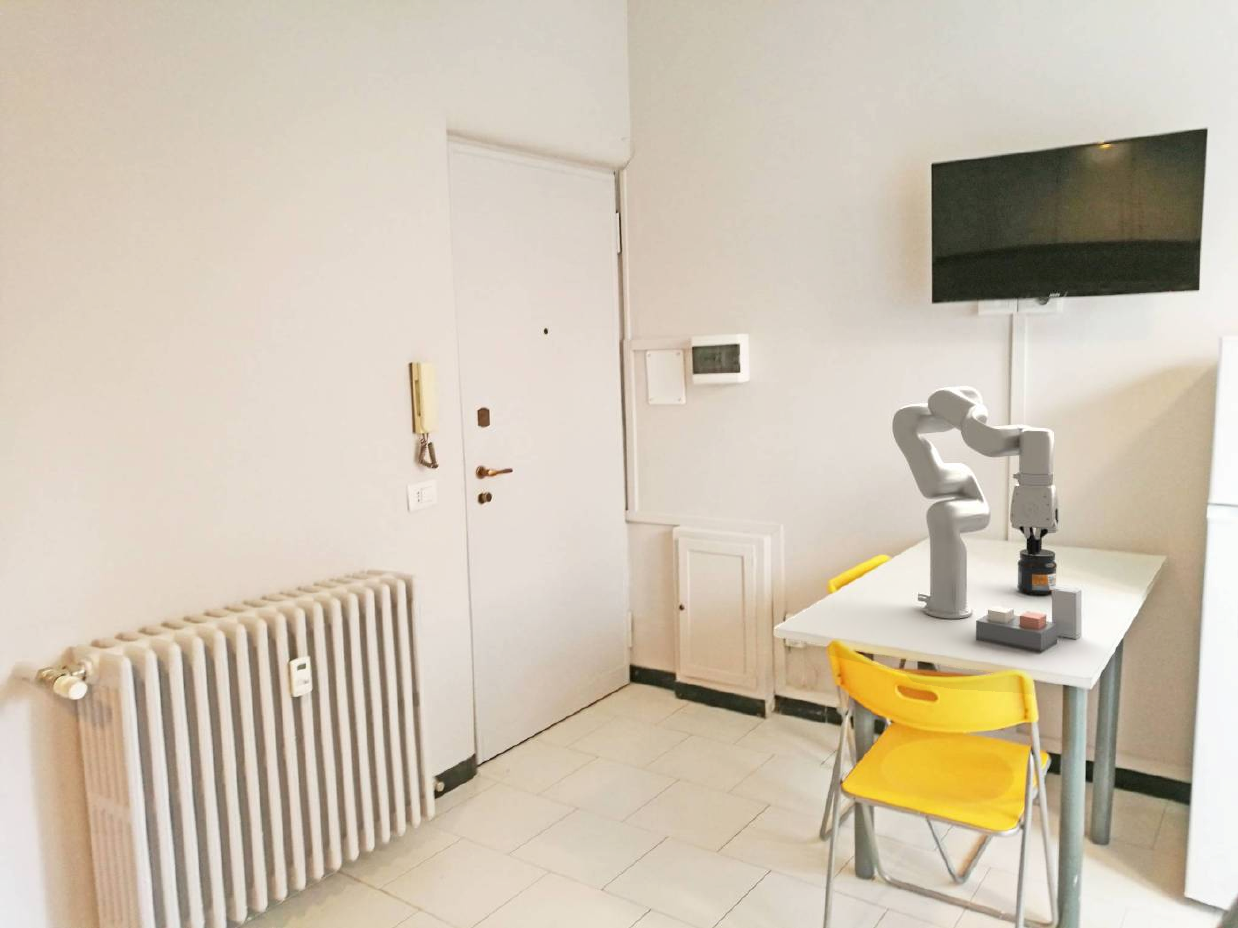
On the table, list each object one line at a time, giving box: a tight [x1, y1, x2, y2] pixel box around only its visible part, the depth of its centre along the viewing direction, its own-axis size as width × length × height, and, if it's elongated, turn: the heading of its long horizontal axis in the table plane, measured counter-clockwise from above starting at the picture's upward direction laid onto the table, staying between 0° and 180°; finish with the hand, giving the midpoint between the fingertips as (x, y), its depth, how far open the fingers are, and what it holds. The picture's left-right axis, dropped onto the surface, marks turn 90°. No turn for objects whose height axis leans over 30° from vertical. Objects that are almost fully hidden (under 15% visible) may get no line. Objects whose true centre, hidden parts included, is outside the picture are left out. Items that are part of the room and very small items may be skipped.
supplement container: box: [1016, 548, 1058, 597], centre depth 270 cm, size 10×10×12 cm
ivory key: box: [987, 605, 1015, 623], centre depth 231 cm, size 5×5×4 cm
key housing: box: [975, 614, 1058, 654], centre depth 229 cm, size 16×10×5 cm, turn 44°
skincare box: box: [1051, 585, 1083, 640], centre depth 231 cm, size 6×4×12 cm
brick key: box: [1019, 611, 1047, 630], centre depth 226 cm, size 5×5×4 cm
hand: (1033, 553), depth 223 cm, fingers closed
